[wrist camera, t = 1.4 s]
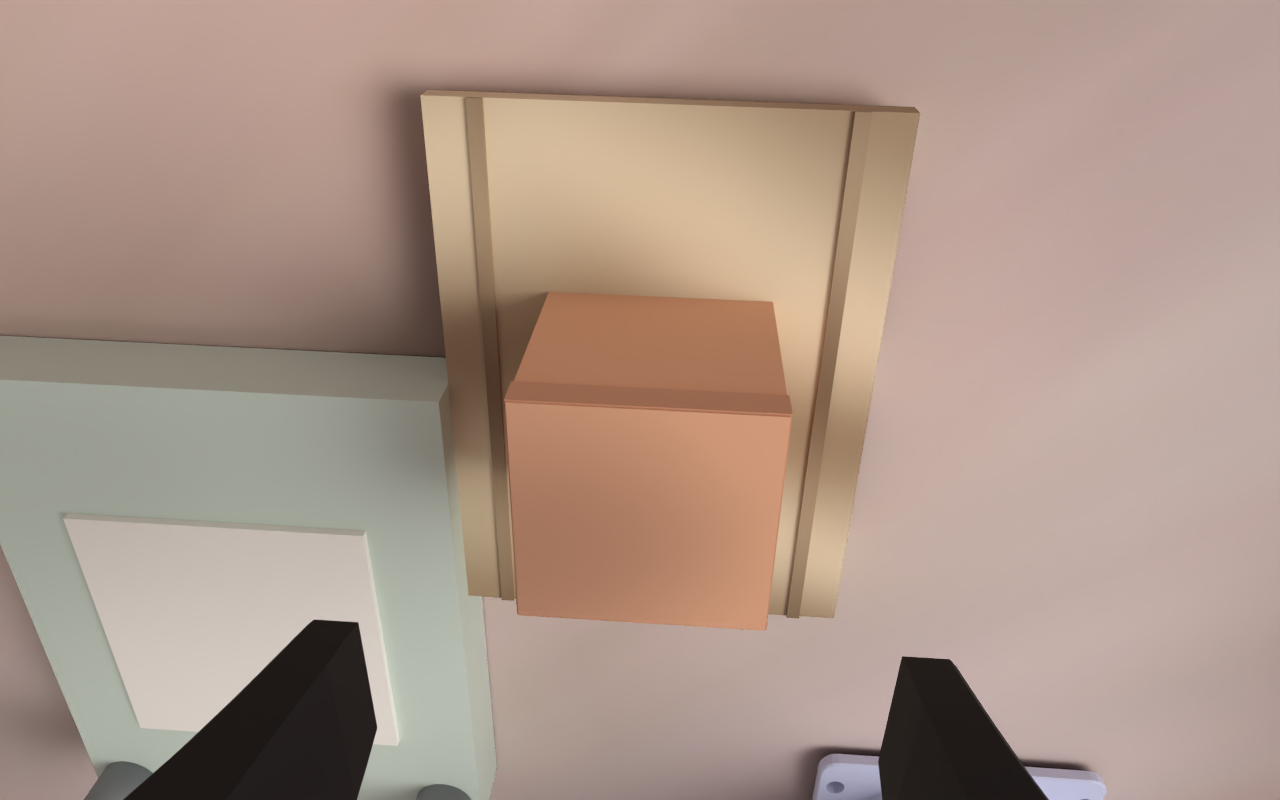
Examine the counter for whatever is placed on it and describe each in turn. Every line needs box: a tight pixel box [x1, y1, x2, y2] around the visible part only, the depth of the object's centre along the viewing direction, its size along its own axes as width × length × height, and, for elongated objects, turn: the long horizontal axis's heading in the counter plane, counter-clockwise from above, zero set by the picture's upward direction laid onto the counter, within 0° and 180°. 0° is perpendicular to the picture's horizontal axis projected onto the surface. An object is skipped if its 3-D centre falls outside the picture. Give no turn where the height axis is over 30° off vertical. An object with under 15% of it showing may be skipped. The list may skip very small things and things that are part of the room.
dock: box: [0, 336, 497, 800], centre depth 22 cm, size 14×11×5 cm
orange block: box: [504, 292, 793, 631], centre depth 17 cm, size 5×5×4 cm
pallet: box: [420, 90, 920, 618], centre depth 20 cm, size 12×9×1 cm
